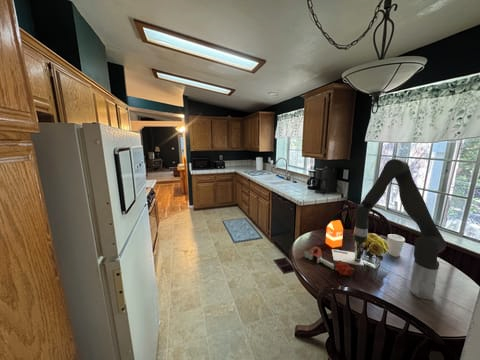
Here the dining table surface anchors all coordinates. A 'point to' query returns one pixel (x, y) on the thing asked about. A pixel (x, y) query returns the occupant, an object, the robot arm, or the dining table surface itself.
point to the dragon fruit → (343, 268)
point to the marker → (356, 257)
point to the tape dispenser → (317, 252)
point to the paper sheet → (345, 257)
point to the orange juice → (334, 234)
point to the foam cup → (395, 244)
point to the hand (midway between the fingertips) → (357, 257)
